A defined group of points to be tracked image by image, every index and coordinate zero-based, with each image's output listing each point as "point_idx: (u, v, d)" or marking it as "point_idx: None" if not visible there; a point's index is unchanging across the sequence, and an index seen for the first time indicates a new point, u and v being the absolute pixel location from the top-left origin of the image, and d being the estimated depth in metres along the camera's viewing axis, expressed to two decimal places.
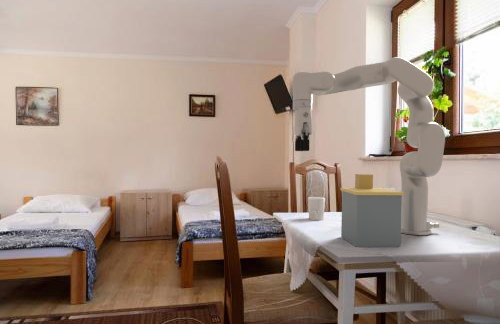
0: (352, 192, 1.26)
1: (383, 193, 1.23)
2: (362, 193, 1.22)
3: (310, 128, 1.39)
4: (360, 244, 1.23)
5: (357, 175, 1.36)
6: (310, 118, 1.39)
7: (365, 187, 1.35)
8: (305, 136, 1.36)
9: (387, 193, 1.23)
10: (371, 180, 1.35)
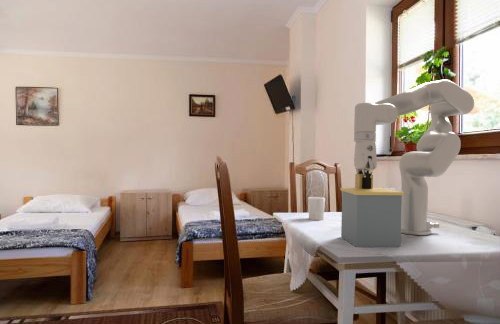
0: (352, 192, 1.26)
1: (383, 193, 1.23)
2: (362, 193, 1.22)
3: (375, 162, 1.32)
4: (360, 244, 1.23)
5: (357, 175, 1.36)
6: (375, 152, 1.32)
7: None
8: (367, 174, 1.32)
9: (387, 193, 1.23)
10: (371, 180, 1.35)
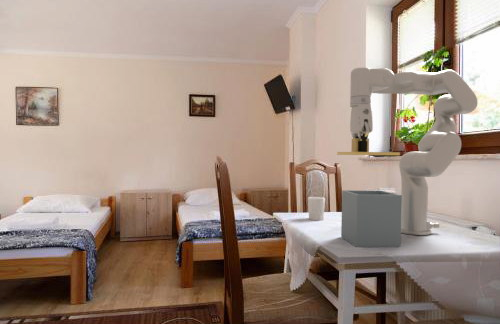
0: (349, 153, 1.28)
1: (380, 153, 1.25)
2: (359, 153, 1.25)
3: (371, 125, 1.34)
4: (360, 244, 1.23)
5: (353, 139, 1.39)
6: (371, 115, 1.34)
7: None
8: (363, 137, 1.35)
9: (384, 153, 1.26)
10: (367, 144, 1.37)
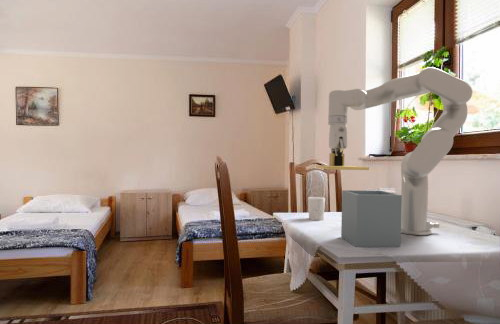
0: (324, 167, 1.44)
1: (351, 168, 1.41)
2: (332, 168, 1.41)
3: (345, 142, 1.50)
4: (360, 244, 1.23)
5: (330, 154, 1.55)
6: (345, 133, 1.50)
7: None
8: (339, 152, 1.50)
9: (354, 168, 1.41)
10: None
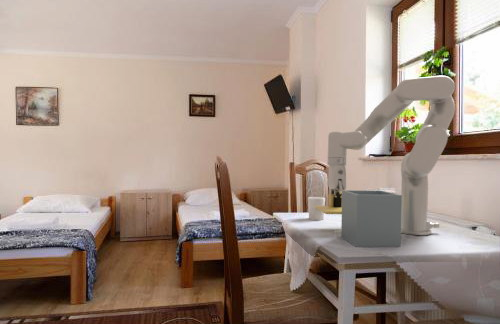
0: (323, 211, 1.44)
1: None
2: (331, 212, 1.41)
3: (344, 184, 1.50)
4: (360, 244, 1.23)
5: (329, 195, 1.55)
6: (344, 175, 1.51)
7: None
8: (338, 194, 1.51)
9: None
10: None
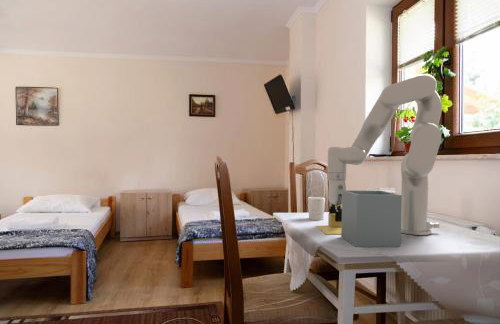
0: None
1: None
2: (331, 234, 1.41)
3: None
4: (360, 244, 1.23)
5: (330, 215, 1.55)
6: None
7: (336, 226, 1.54)
8: (339, 209, 1.49)
9: None
10: None
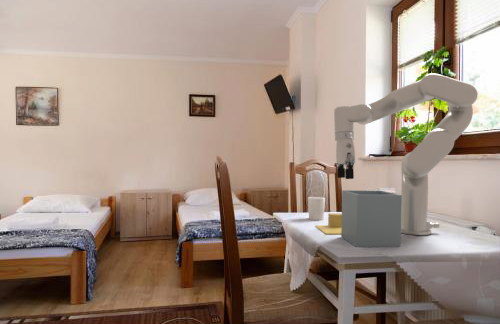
0: (323, 232, 1.45)
1: None
2: (331, 234, 1.42)
3: (353, 158, 1.51)
4: (360, 244, 1.23)
5: (329, 215, 1.56)
6: (353, 148, 1.51)
7: (336, 226, 1.54)
8: (350, 165, 1.48)
9: None
10: (341, 219, 1.54)
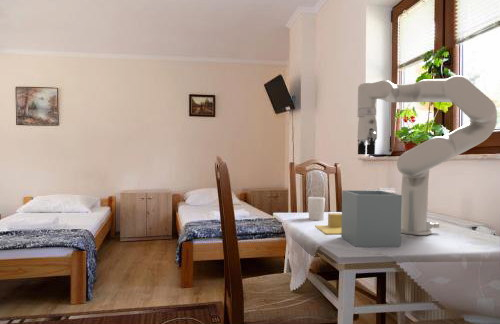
0: (323, 232, 1.45)
1: None
2: (331, 234, 1.42)
3: (375, 134, 1.53)
4: (360, 244, 1.23)
5: (329, 215, 1.56)
6: (375, 125, 1.53)
7: (336, 226, 1.54)
8: (371, 141, 1.51)
9: None
10: (341, 219, 1.54)
